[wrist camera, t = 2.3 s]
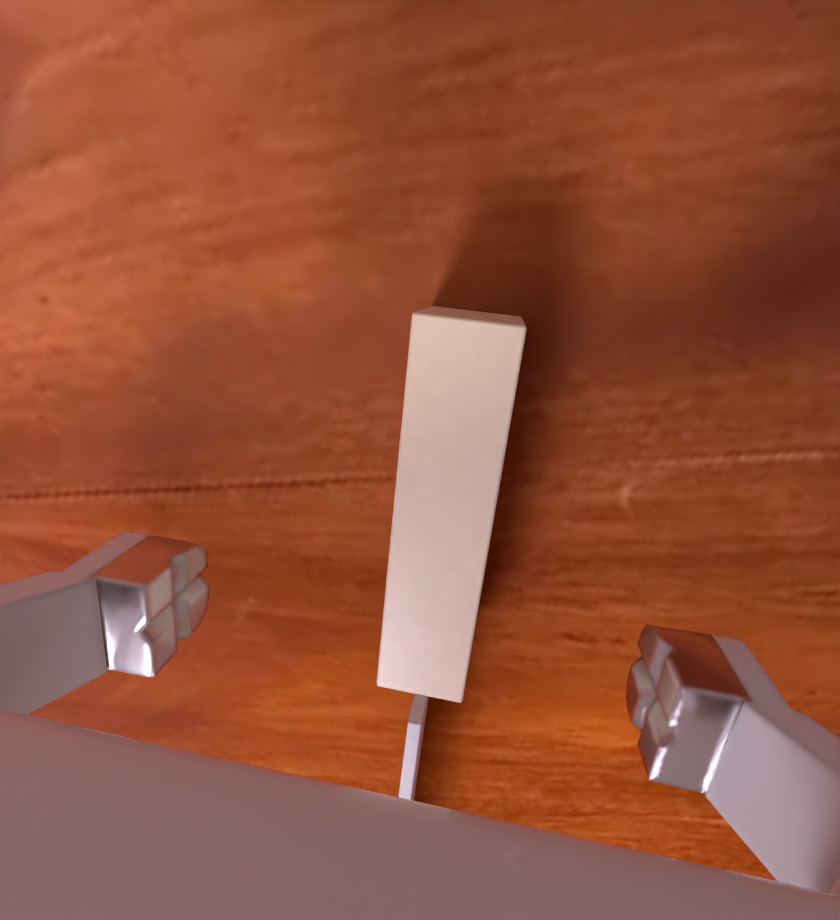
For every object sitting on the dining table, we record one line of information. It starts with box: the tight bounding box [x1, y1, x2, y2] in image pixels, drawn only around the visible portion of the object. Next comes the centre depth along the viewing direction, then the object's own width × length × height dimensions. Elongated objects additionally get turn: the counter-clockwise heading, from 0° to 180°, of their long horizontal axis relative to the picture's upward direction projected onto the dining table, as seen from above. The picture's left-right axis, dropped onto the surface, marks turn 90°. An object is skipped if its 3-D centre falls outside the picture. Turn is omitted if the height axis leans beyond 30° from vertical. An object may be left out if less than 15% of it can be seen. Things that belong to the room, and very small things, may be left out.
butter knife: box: [377, 306, 527, 801], centre depth 16 cm, size 23×2×3 cm, turn 174°
